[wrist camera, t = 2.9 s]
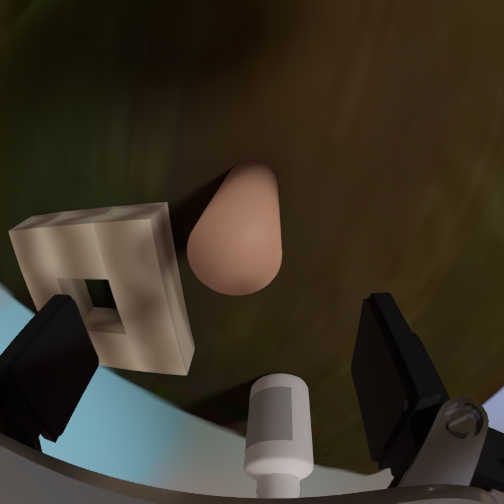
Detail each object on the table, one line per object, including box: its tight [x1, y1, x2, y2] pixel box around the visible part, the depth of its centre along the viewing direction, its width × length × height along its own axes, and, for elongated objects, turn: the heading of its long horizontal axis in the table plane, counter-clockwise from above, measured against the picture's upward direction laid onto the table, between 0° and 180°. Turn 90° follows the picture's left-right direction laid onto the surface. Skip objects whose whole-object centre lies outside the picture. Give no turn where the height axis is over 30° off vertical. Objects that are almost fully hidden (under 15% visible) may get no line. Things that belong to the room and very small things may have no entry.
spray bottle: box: [244, 373, 313, 498], centre depth 26 cm, size 7×7×18 cm
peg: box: [187, 160, 282, 295], centre depth 18 cm, size 4×4×12 cm
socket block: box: [9, 202, 195, 375], centre depth 27 cm, size 16×16×4 cm
